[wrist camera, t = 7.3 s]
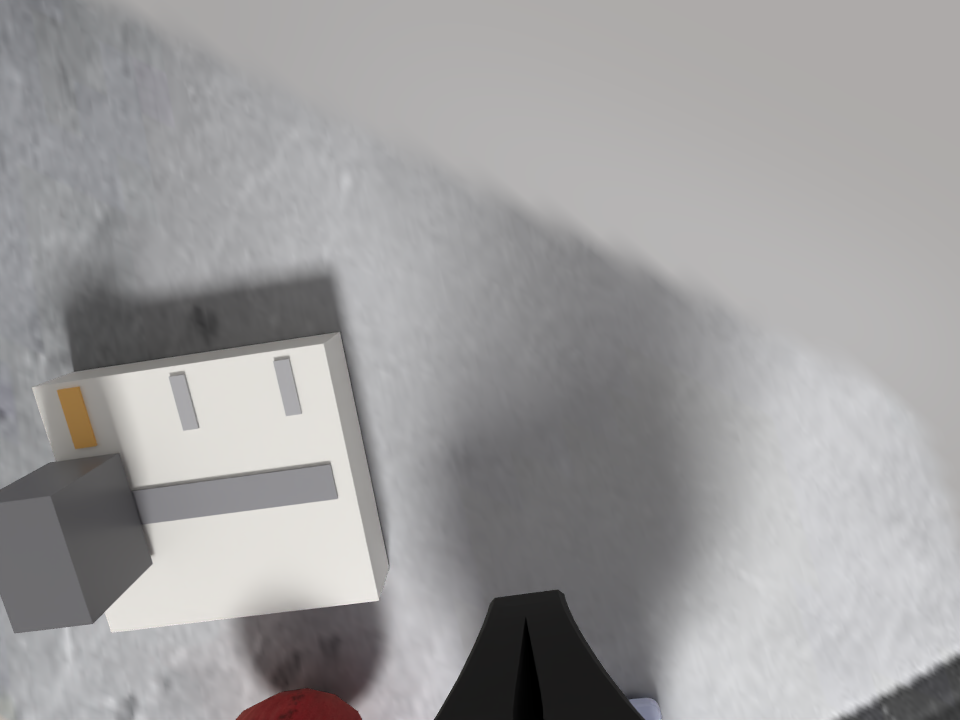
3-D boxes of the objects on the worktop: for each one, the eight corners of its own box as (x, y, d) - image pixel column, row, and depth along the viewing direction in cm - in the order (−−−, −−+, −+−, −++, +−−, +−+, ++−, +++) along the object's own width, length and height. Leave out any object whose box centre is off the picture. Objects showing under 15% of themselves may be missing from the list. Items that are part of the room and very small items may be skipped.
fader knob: (152, 563, 21) (92, 623, 18) (85, 572, 21) (14, 633, 18) (119, 452, 20) (50, 495, 17) (49, 462, 21) (-32, 507, 17)
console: (389, 568, 23) (378, 602, 21) (142, 598, 24) (109, 634, 22) (339, 331, 22) (322, 344, 19) (73, 372, 22) (29, 388, 20)
